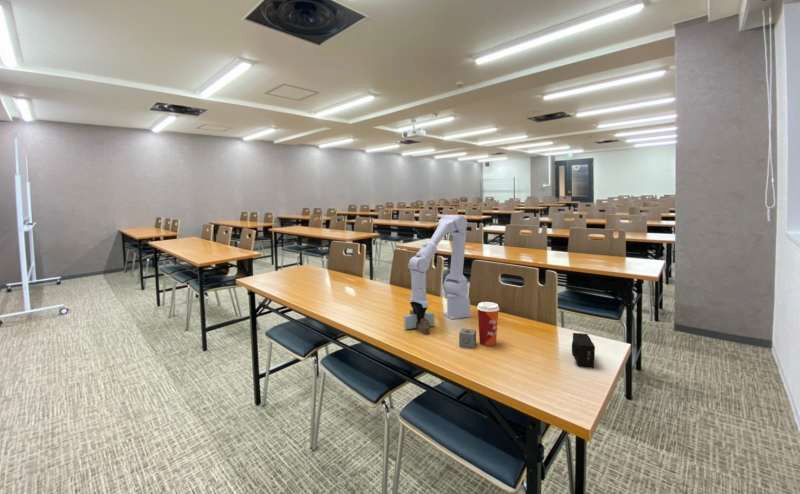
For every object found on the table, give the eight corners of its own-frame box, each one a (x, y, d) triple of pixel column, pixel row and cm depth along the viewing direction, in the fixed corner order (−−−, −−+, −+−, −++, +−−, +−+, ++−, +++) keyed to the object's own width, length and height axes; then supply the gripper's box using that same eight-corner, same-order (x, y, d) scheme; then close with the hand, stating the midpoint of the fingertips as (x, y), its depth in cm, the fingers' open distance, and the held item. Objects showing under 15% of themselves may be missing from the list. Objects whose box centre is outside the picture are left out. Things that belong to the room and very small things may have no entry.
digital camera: (568, 352, 120) (568, 332, 119) (586, 354, 118) (587, 333, 117) (573, 366, 110) (574, 344, 109) (593, 368, 108) (594, 346, 107)
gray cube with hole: (459, 346, 126) (459, 333, 125) (462, 341, 130) (462, 328, 130) (473, 348, 124) (473, 334, 123) (476, 343, 129) (476, 329, 128)
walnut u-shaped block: (410, 321, 152) (410, 310, 152) (414, 321, 153) (414, 309, 152) (424, 334, 137) (424, 322, 137) (429, 334, 138) (429, 321, 137)
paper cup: (495, 349, 123) (495, 309, 121) (473, 344, 127) (473, 305, 125) (501, 341, 130) (502, 303, 128) (481, 337, 134) (481, 300, 132)
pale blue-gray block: (432, 323, 148) (432, 312, 147) (434, 325, 146) (434, 313, 145) (404, 327, 144) (404, 315, 143) (405, 329, 142) (405, 316, 142)
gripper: (403, 284, 148) (403, 316, 150) (415, 292, 135) (416, 327, 137) (419, 282, 151) (419, 314, 152) (433, 290, 137) (433, 325, 139)
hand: (419, 320), depth 145 cm, fingers closed on pale blue-gray block, 2 cm apart
